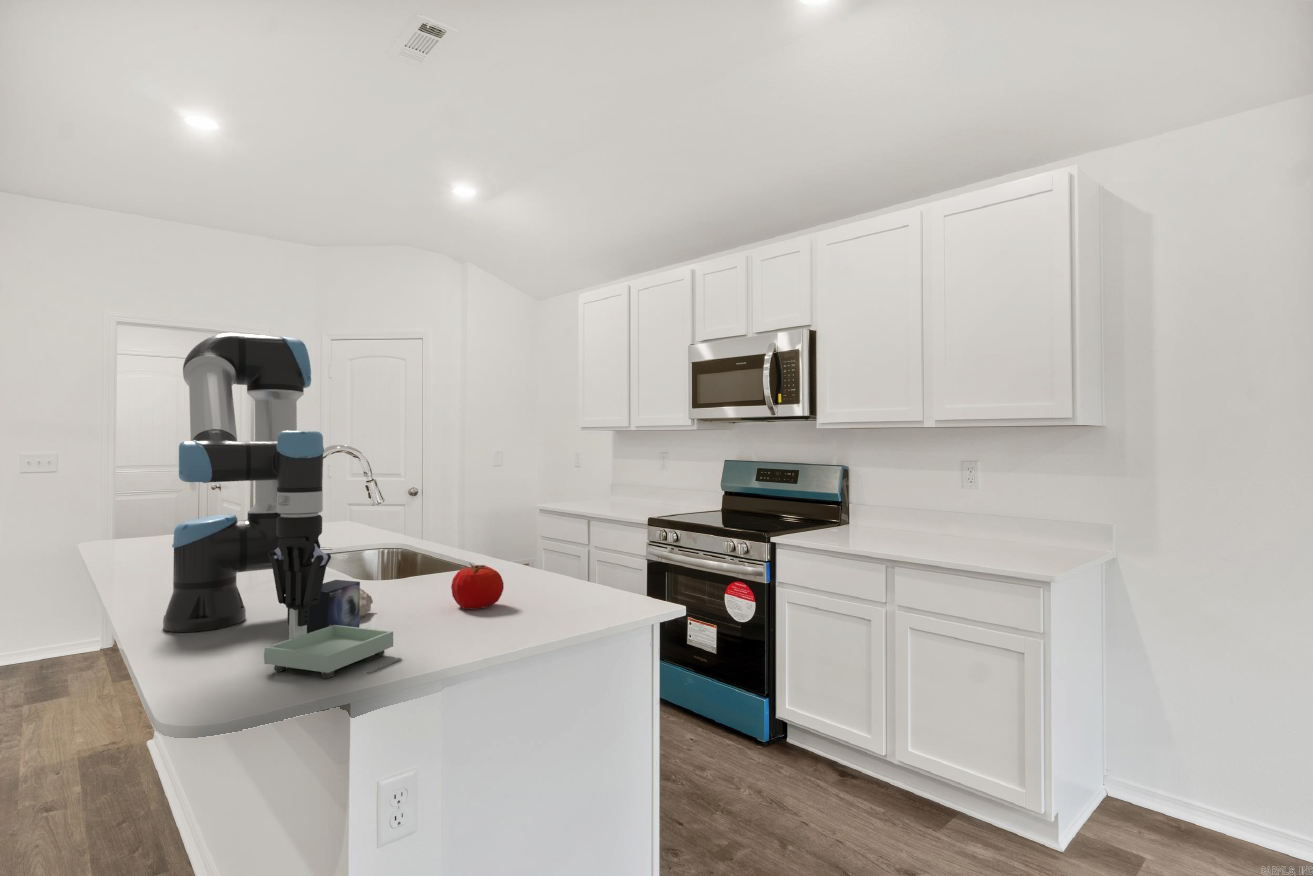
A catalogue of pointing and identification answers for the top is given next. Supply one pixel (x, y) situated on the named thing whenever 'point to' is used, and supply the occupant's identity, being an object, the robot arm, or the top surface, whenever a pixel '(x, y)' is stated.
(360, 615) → the stone
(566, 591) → the top surface
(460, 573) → the tomato
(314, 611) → the small box
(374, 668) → the strip
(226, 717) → the top surface
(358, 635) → the green footed tray
